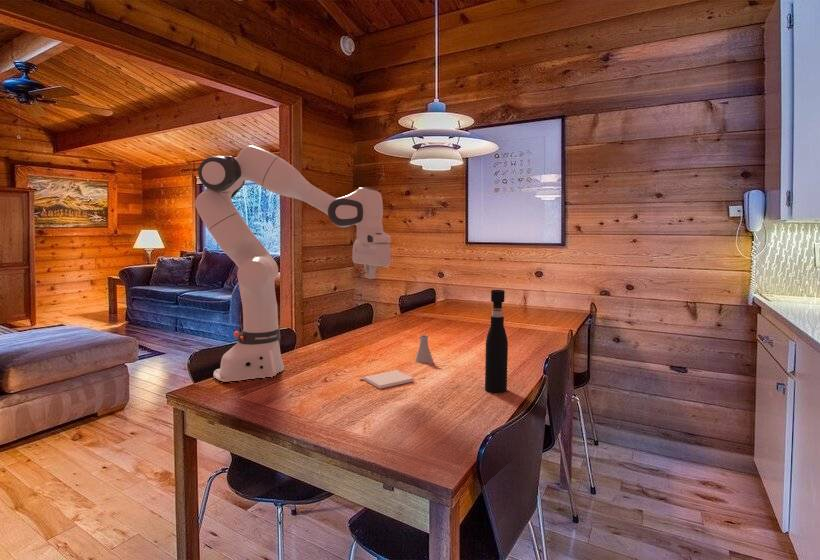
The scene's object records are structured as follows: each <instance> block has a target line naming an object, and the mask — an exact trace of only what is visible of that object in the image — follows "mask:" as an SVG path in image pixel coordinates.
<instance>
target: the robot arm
mask: <svg viewBox="0 0 820 560" xmlns="http://www.w3.org/2000/svg"><path fill="white" fill-rule="evenodd" d="M197 175H198V179H199V181H200V183H201V184H202V185H203V186H204V187H205V190H204V191H202V192H201V193H200V194H199V195H197V197H196V198H195V201H194V205H195V206H194V207H195V209H196V210H197V214H198V215H199V217H200V218H201V220H202V222H203V224H204V225H205V227H206V229H207V230H208V231H209V233H210V236H211V237H212V238H213V239H214V241H215V242H216V243H217V245H218V247H219V248H220V249H221V250H222V252H223V253H224V254H226V255H227V256H228V257H229V259H231V261H233V262H234V264H235V265H236V266H237V267H238V268H237V277H236V278H237V281H238V287H239V295H240V299H241V304H242V305H241V306H242V319H243V320H242V322H243V323H242V324H243V329H242V330H241V331H238V330H236V331H234V332H233V336H234V337H235V338H237V343H236V344H234V345H233V346H232V347H231V348H229V350H228V351H226V352H225V353H224V354H223V355H222V357H221V361H220V367H219V368H217V369H215V370H214V371H213V377H214V379H215V378H216V379H218V380H221V381H237V380H246V379H255V378H263V379H266V378H265V377H271V378H274V377H276V375H277V373H278V374H279V372H280V373H281V372H283V371H284V370H285V365H284V362H283V359H282V358H283V357H282V353H281V348H280V347H281V345H280V344H281V332H280V328H279V319H278V318H279V316H278V315H279V313H278V302H277V296H276V287H275V286H276V285H275V281H276V279H277V277H278V275H279V267H278V264H277V262H276V260H275V259H274V258H273V256H272V255H271V254H270V252H269V251H268V250H267V248H266V247H265V245H263V243H261V241H260V240H259V239H258V238H257V236H256V235H255V234H254V232H253V231H252V230H251V228H250V226H249V225H248V223H247V222H246V220H244V217H243V216H242V215H241V214H240V212H239V211H238V209H237V208H236V206H235V205H234V203H233V201H232V198H234V197H235V196H236V194H238V192H239V191H240V190H241V189H242V188H243V186H244V184H245V182H246V181H249V182H252V183H253V184H256V185H258V186H260V187H261V188H263V189H265V190H267V191H269V192H272V193H274V194H276V195H279V196H283V197H287V198H290V199H291V198H292V199H295V200H299V201H302V202H304V203H306V204H308V205H310V206H312V207H313V208H315V209H317V210H319V211H321V212H323V214H325V215H326V216H327V217H328V219H329V221H331V223H332V224H334V225H335V226H337V227H338V228H341V229H349V228H351V227H353V226H354V225H355V226H356V238H355V240H354V243H353V244H352V253H351V254H352V255H351V256H352V257H351V258H352V262H353V264H358V265H359V264H360V265H363V268H364V272H365V277H366V279H371V280H372V279H375V278H376V271H377V269H378V267H379V268H380V267H390V264H391V259H392V258H391V257H392V256H391V255H392V254H391V253H392V250H391V245H390V244H391V242H392V237H391V236H390V235H389V234H387V233H386V232H385V231H384V226H383V216H384V206H383V205H384V204H383V196H382V193H380V191H378V190H377V189H375V188H372V187H365V186H364V187H363V186H362V187H358V189H355V190H354V191H352V192H351V193H348V194H347V195H345V196H344V195H343V196H341V197H335V196H333V195H330V194H329V193H328V192H326V191H324V190H321V189H320V188H318V187H317V186H315V185H313V184H312V183H311V182H309V181H308V180H307V179H306V178H305V177H304V175H302V173H300V171H299V170H298V169H297V168H295V167H294V166H293V165H292V164H290V163H289V162H288V161H286V160H285V159H283V158H281V157H279V156H278V155H276V154H274V153H272V152H270V151H268V150H265V149H263V148H261V147H259V146H258V147H257V146H255V145H246V146H245V147H243V148H242V149H241V150H240V151H239V152H238V154H237V156H236V157H234V156H232V155H213V156H209V157H206V158H205V159H203V160H202V161H201V163H200V164H199V166H198V170H197ZM273 376H274V377H273ZM216 379H215V380H216ZM255 380H256V379H255Z"/></svg>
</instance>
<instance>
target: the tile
mask: <svg viewBox="0 0 820 560" xmlns="http://www.w3.org/2000/svg"><path fill="white" fill-rule="evenodd" d="M363 379H364V381H365V382H366V383H368V384H371V385H373V386H375V387H376V388H378V389H379V390H381V389H387V388H391V387H394V386H399V385H404V384H407V383H411V382H415V378H414V377H412V376H410V375H409V374H406V373H404V372H402V371H400V370H397V369H395V370H390V371H386V372H381V373H375V374H371V375H365V376H363Z"/></svg>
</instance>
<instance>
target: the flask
mask: <svg viewBox="0 0 820 560" xmlns="http://www.w3.org/2000/svg"><path fill="white" fill-rule="evenodd" d="M428 338H429V335H427V334H421V335H419V339H420V340H419V347H418V349H417V352H416V355H415V357H414V358H415V359H414V360H415V363H419V364H420V363H421V364H429V365H431V366H432V365H433V364H435V362H434V359H433V356H432V354H431V350H430V347H429V341H428V340H429V339H428Z"/></svg>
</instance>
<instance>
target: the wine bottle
mask: <svg viewBox="0 0 820 560" xmlns="http://www.w3.org/2000/svg"><path fill="white" fill-rule="evenodd" d="M505 293H506V291H505V290H503V289H491V290H490V302H491V303H493V305H492V310H491V316H490V326H489V329H488V331H487V335H486V339H485V362H484V363H485V365H484V366H485V367H484V368H485V371H484V373H485V374H484V390H485V391H486V392H487V391H488V393H490V392H491V393H490V394H495V393H500V394H504V392H505V393H506V392H507V390H508V358H509V357H508V353H509V352H508V351H509V343H508V336H507V333H506V329H505V325H504V324H505V318H504V314H503V313H504V311H503V303H504V302H505V297H506V296H505Z"/></svg>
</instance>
